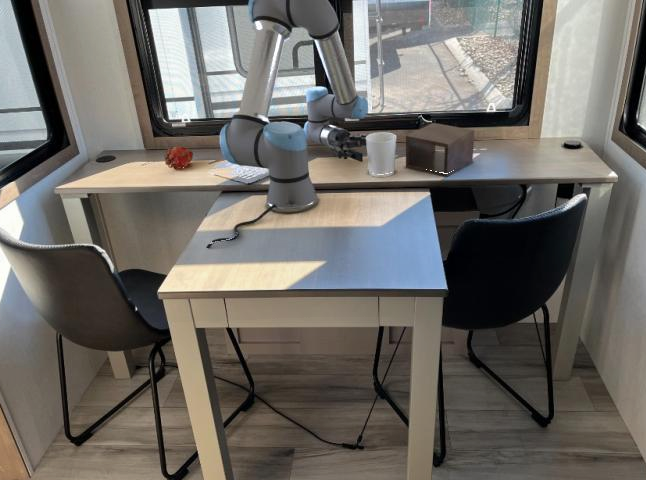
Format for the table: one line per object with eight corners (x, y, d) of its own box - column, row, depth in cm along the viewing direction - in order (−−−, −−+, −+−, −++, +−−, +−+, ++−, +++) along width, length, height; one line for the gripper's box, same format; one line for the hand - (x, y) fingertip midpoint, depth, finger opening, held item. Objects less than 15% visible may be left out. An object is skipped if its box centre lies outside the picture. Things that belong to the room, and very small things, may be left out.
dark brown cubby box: (446, 177, 189) (448, 144, 183) (405, 167, 198) (405, 135, 192) (472, 162, 199) (474, 130, 193) (432, 153, 208) (433, 122, 202)
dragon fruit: (165, 176, 208) (192, 171, 217) (175, 166, 202) (204, 160, 211) (154, 154, 208) (183, 149, 216) (165, 143, 202) (193, 139, 210)
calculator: (249, 185, 193) (248, 180, 192) (208, 174, 204) (207, 169, 203) (277, 172, 201) (276, 167, 200) (236, 162, 212) (235, 157, 211)
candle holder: (396, 166, 199) (396, 131, 192) (396, 178, 191) (396, 141, 184) (367, 167, 200) (366, 132, 193) (366, 178, 192) (364, 142, 185)
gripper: (363, 140, 216) (404, 153, 201) (309, 158, 203) (349, 173, 189) (362, 119, 212) (404, 131, 197) (307, 136, 199) (347, 150, 185)
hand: (377, 152), depth 193 cm, fingers open, 13 cm apart
